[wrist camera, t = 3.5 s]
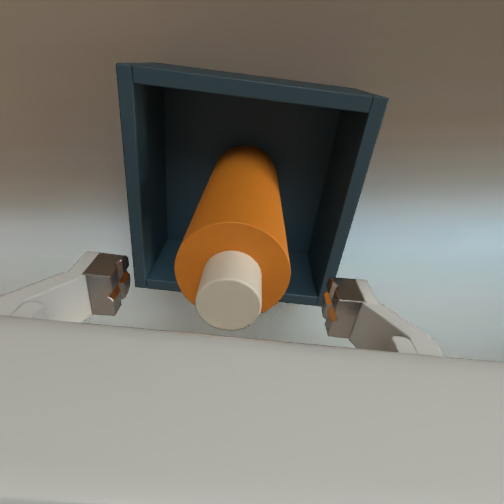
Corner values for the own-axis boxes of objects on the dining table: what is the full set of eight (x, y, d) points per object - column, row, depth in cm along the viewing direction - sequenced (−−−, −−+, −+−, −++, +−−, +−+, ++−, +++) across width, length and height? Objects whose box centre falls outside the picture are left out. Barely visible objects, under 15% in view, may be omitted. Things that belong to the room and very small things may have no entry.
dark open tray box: (355, 88, 22) (389, 98, 16) (313, 258, 29) (326, 307, 23) (153, 62, 21) (114, 62, 16) (160, 241, 28) (134, 287, 23)
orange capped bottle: (281, 149, 23) (307, 257, 11) (272, 210, 26) (283, 358, 13) (215, 141, 23) (158, 240, 10) (212, 203, 26) (162, 347, 13)
